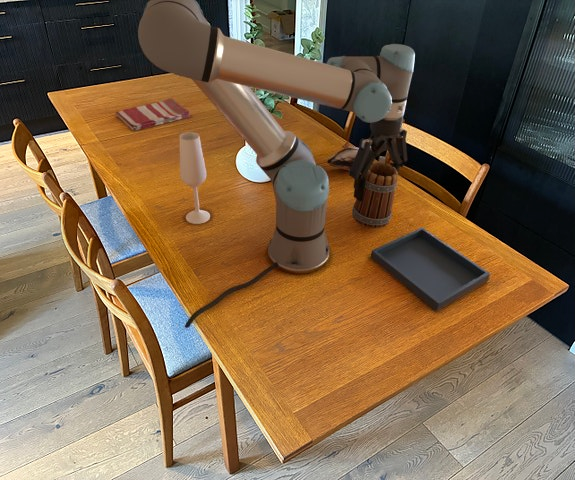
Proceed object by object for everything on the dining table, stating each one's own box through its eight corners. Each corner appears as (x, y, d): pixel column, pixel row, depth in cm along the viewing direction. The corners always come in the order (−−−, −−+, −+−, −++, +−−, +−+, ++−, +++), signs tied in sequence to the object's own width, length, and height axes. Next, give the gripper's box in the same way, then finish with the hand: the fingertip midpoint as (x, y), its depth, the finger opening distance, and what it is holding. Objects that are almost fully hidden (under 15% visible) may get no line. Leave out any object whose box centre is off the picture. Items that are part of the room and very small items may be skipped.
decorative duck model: (388, 160, 144) (350, 170, 137) (382, 180, 149) (345, 191, 142) (359, 136, 153) (322, 145, 146) (354, 156, 158) (318, 165, 151)
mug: (389, 232, 123) (402, 182, 114) (349, 225, 124) (359, 175, 115) (390, 202, 135) (402, 155, 126) (354, 195, 136) (363, 148, 127)
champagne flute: (186, 210, 131) (176, 130, 116) (210, 209, 131) (203, 130, 116) (184, 224, 125) (174, 142, 111) (209, 223, 126) (202, 142, 111)
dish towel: (191, 116, 180) (191, 110, 178) (133, 131, 168) (132, 124, 167) (171, 102, 190) (170, 96, 188) (115, 115, 178) (114, 109, 177)
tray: (436, 311, 103) (439, 303, 102) (370, 257, 117) (371, 250, 115) (487, 280, 111) (490, 273, 110) (420, 234, 125) (422, 227, 124)
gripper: (361, 131, 104) (350, 212, 117) (433, 110, 114) (415, 186, 128) (339, 119, 108) (331, 198, 122) (410, 99, 119) (395, 174, 133)
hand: (374, 192), depth 125 cm, fingers closed on mug, 11 cm apart
